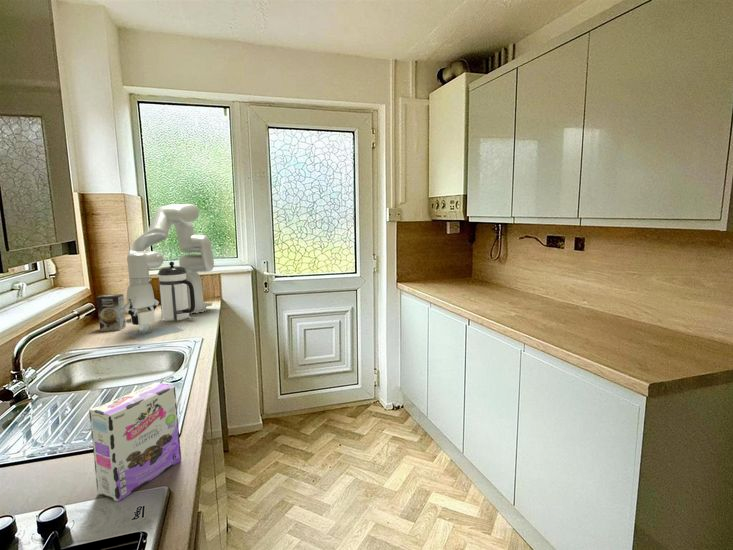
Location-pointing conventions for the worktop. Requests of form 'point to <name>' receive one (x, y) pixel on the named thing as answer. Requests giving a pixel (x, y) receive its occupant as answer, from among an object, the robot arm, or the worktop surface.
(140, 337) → the base plate
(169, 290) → the coffee press
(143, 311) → the white striped cube
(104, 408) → the candy box
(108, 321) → the coffee box
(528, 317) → the worktop surface
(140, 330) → the pale grey block
